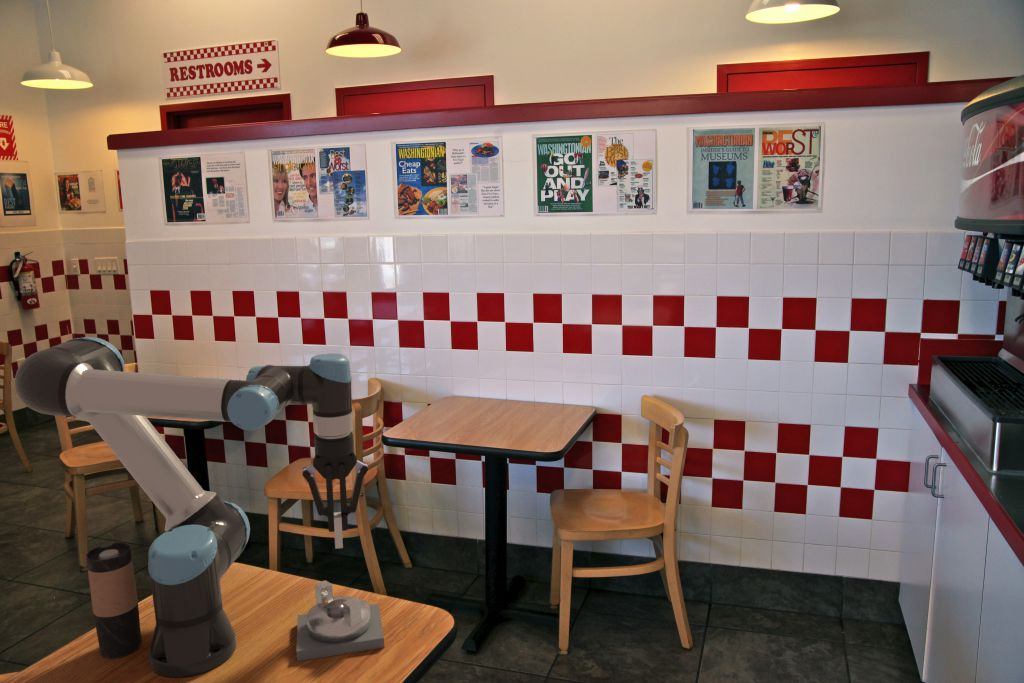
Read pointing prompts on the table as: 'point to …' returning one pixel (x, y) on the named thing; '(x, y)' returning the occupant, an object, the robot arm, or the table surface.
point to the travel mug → (114, 599)
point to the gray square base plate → (318, 649)
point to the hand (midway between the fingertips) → (339, 545)
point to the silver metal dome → (337, 616)
